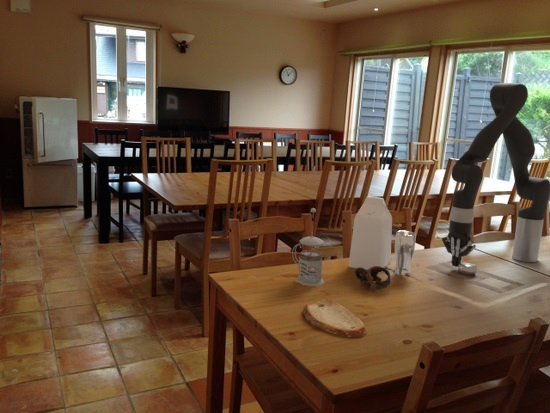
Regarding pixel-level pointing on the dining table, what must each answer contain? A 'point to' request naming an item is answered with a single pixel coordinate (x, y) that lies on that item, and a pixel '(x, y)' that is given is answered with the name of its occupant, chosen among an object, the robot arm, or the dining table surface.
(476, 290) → the dining table surface
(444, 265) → the grey flat slab
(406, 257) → the beer glass
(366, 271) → the dark brown twisted loop
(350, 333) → the bread slice
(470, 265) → the glossy grey dome
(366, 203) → the milk
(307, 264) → the french press
